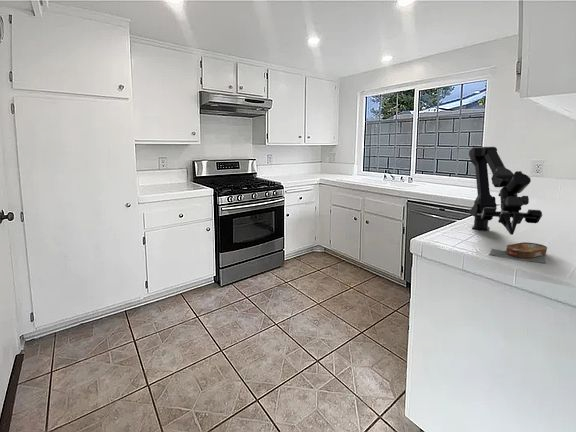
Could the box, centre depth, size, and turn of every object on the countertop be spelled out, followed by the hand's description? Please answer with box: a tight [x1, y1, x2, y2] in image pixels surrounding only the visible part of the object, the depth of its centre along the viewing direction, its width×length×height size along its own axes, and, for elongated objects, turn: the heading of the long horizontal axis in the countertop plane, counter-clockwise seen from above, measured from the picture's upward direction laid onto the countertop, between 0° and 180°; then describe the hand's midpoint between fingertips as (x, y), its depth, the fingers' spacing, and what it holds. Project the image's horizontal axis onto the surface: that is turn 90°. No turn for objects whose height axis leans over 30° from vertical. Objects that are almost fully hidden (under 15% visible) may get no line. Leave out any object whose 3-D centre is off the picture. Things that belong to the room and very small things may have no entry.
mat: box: [489, 248, 546, 264], centre depth 115 cm, size 8×16×1 cm, turn 52°
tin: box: [505, 241, 548, 258], centre depth 116 cm, size 15×3×8 cm
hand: (511, 234), depth 121 cm, fingers closed
